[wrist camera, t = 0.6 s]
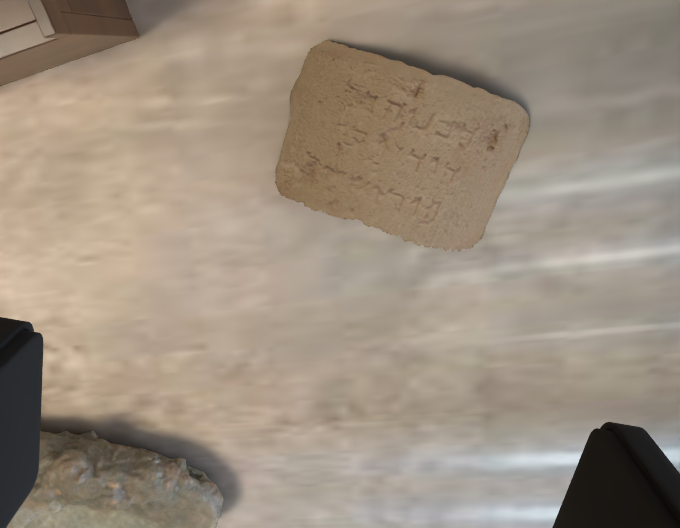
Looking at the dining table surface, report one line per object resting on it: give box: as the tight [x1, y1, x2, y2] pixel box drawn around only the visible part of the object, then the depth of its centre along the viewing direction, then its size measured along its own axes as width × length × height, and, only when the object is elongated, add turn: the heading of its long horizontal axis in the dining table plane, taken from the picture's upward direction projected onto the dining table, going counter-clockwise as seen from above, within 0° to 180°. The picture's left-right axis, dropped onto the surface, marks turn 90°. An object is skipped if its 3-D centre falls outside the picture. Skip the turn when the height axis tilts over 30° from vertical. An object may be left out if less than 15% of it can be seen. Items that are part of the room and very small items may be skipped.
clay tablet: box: [275, 40, 530, 252], centre depth 37 cm, size 14×10×3 cm
